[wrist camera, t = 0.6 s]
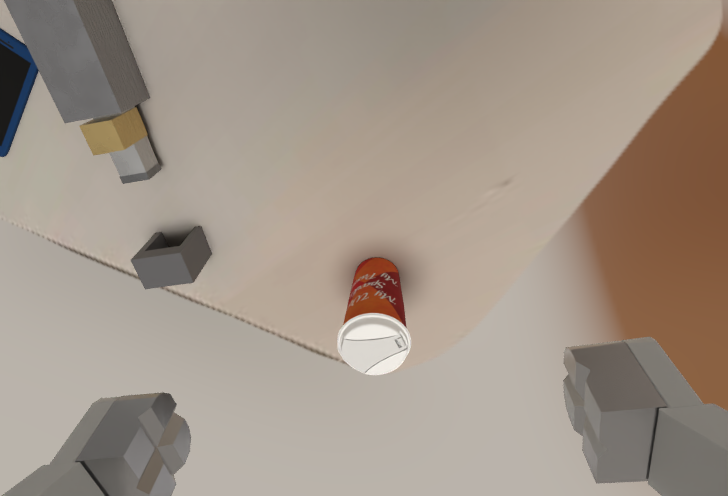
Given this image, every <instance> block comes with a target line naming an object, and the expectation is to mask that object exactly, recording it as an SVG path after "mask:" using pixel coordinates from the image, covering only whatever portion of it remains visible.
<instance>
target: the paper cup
mask: <svg viewBox="0 0 728 496" xmlns="http://www.w3.org/2000/svg"><path fill="white" fill-rule="evenodd" d="M337 343H338V351H339V353H340V355H341V357H342V358H343V360H344V361H345V362H346V363H348V364H349V365H350V366H351V367H352V368H353V369H355V370H357V371H359V372H362V373H364V374H369V375H382V374H386V373H389V372H391V371H393V370H395V369H397V368H398V367H399V366H400V365H401V364H402V363H403V361H404V360H405V358H406V356H407V355H408V353H409V351H410V347H411V337H410V334H409V332H408V330H407V328H406V321H405V311H404V303H403V297H402V291H401V285H400V278H399V273H398V270H397V268H396V267H395V265H394V264H393V263H391V262H390V261H388V260H386V259H383V258H370V259H367V260H365V261H364V262H362V263H361V264H360V265H359V266H358V268H357V270H356V273H355V276H354V280H353V284H352V289H351V293H350V297H349V302H348V306H347V311H346V315H345V320H344V324H343V326H342V328H341V329H340V331H339V334H338V339H337Z"/></svg>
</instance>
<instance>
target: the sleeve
mask: <svg viewBox="0 0 728 496" xmlns="http://www.w3.org/2000/svg"><path fill="white" fill-rule="evenodd" d="M4 1H5V3H6V5H7V7H8V9H9V11H10V13H11V15H12V17H13V19H14V21H15V23H16V25H17V28H18V30H19V32H20V34H21V36H22V38H23V40H24V42H25V44H26V46H27V48H28V50H29V52H30V54H31V56H32V58H33V60H34V62H35V64H36V66H37V68H38V70H39V72H40V74H41V76H42V78H43V80H44V82H45V84H46V86H47V88H48V90H49V92H50V94H51V96H52V98H53V100H54V102H55V104H56V106H57V108H58V110H59V112H60V114H61V116H62V118H63V120H64V122H65V123H69V122H74V121H79V120H84V119H90V118H95V117H100V116H105V115H111V114H116V113H121V112H123V111H125V110H127V109H129V108H131V107H133V106H135V105H137V104H139V103H141V102H143V101H145V100H147V99H149V98H150V96H149V94H148V91H147V89H146V86H145V84H144V81H143V79H142V76H141V74H140V71H139V69H138V66H137V64H136V61H135V59H134V56H133V54H132V51H131V49H130V46H129V44H128V41H127V39H126V36H125V33H124V31H123V28H122V26H121V23H120V21H119V18H118V16H117V13H116V11H115V8H114V6H113V3H112V1H111V0H4Z"/></svg>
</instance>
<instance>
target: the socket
mask: <svg viewBox="0 0 728 496" xmlns="http://www.w3.org/2000/svg"><path fill="white" fill-rule="evenodd" d="M211 255H212V253H211V250H210V248H209V245H208V243H207V240H206V238H205V235H204V233H203V230H202V228H201V226H198V227H194V229H193V230H192V231H191V232H190V234H189V235H188V236H187V238H186V239H185V240H184V241H183V243H182V244H181V245H180V246H175V247H168V245H167V243H166V241H165V239H164V236H163V234H162V232H158V233H155V234H154V235H153V236H152V237H151V239H150V240H149V241H148V242H147V243H146V244H145V245H144V246H143V247H142V248H141V249H140V250H139V252H138V253H137V254H136V255H135V256H134V257H133V258H132V259H131V262H132V264H133V266H134V268H135V270H136V272H137V274H138V276H139V278H140V280H141V282H142V283H143V286H144V288H145V289H150V288H157V287H165V286H172V285H179V284H187V283H193V282H194V281H195V279H196V278H197V276H198V275H199V273H200V272H201V270H202V269H203V267H204V265H205V264H206V262H207V261H208V259H209V258H210V256H211Z"/></svg>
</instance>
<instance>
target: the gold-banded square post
mask: <svg viewBox="0 0 728 496" xmlns="http://www.w3.org/2000/svg"><path fill="white" fill-rule="evenodd" d="M80 128H81V130H82V132H83V134H84V137H85V139H86V141H87V143H88V145H89V147H90V149H91V151H92V153H93V155H99V154H104V153H110V155H111V158H112V160H113V162H114V164H115V166H116V168H117V171H118V173H119V175H120V179H121V181H122V183H123V184H124V183H130V182H136V181H142V180H148V179H150V178H151V177H153V176H154V175H155V174H156V173H157V172H159V171H160V170H161V167H160V165H159V163H158V161H157V159H156V157H155V154H154V152H153V149H152V147H151V145H150V142H149V140H148V137H147V135H148V134H147V131H146V129H145V126H144V124H143V122H142V119H141V117H140V114H139V112H138V110H137V107H135V106H133V107H131V108H129V109H127V110H125V111H123V112H121V113H116V114H111V115H105V116H100V117H95V118H93V120H91V121H89V122H87V123H85V124H83V125H80Z"/></svg>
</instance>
